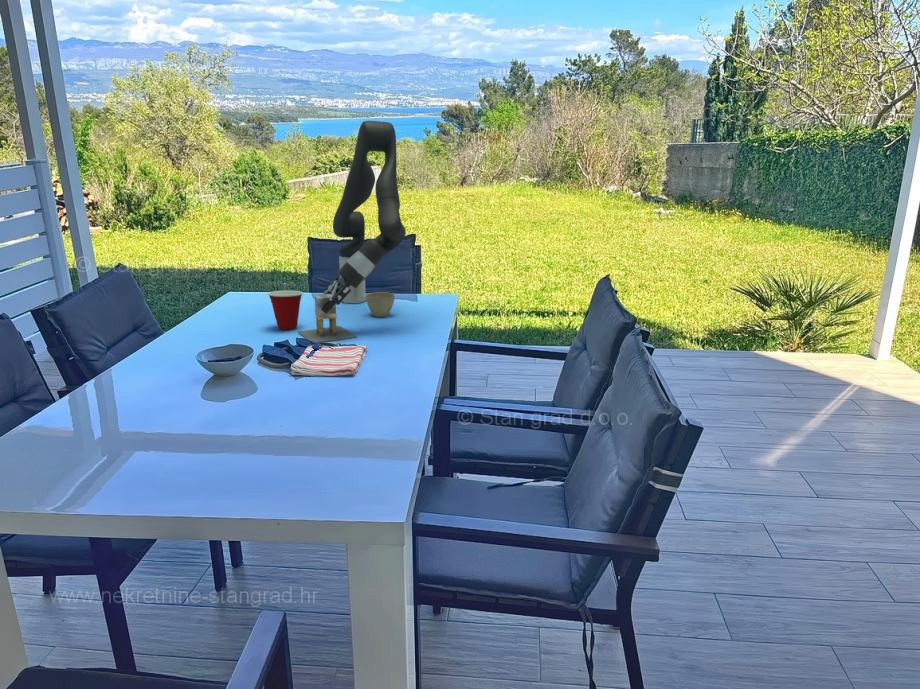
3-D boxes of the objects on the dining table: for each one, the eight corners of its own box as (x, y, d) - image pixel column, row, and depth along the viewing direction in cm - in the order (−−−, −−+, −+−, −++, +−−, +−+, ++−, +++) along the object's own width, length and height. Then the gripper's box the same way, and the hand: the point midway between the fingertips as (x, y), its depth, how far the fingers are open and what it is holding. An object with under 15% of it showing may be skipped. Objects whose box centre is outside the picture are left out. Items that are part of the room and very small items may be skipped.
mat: (297, 332, 210) (297, 331, 210) (339, 327, 217) (339, 325, 217) (312, 343, 199) (312, 342, 198) (356, 337, 205) (356, 336, 205)
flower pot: (362, 313, 235) (361, 293, 233) (389, 310, 239) (389, 291, 237) (371, 320, 226) (370, 299, 224) (399, 317, 230) (398, 296, 228)
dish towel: (288, 378, 171) (287, 365, 170) (309, 351, 193) (309, 339, 192) (354, 379, 171) (354, 366, 170) (368, 352, 193) (368, 340, 192)
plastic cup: (309, 324, 220) (307, 288, 216) (298, 333, 210) (296, 295, 206) (277, 323, 221) (275, 287, 217) (265, 331, 211) (262, 294, 207)
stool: (334, 330, 211) (332, 293, 208) (337, 335, 206) (335, 297, 203) (316, 332, 209) (314, 294, 206) (319, 337, 204) (317, 298, 201)
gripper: (343, 257, 210) (308, 295, 209) (352, 265, 197) (315, 305, 197) (360, 273, 213) (326, 310, 213) (370, 281, 201) (334, 321, 200)
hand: (321, 308), depth 205 cm, fingers open, 8 cm apart
